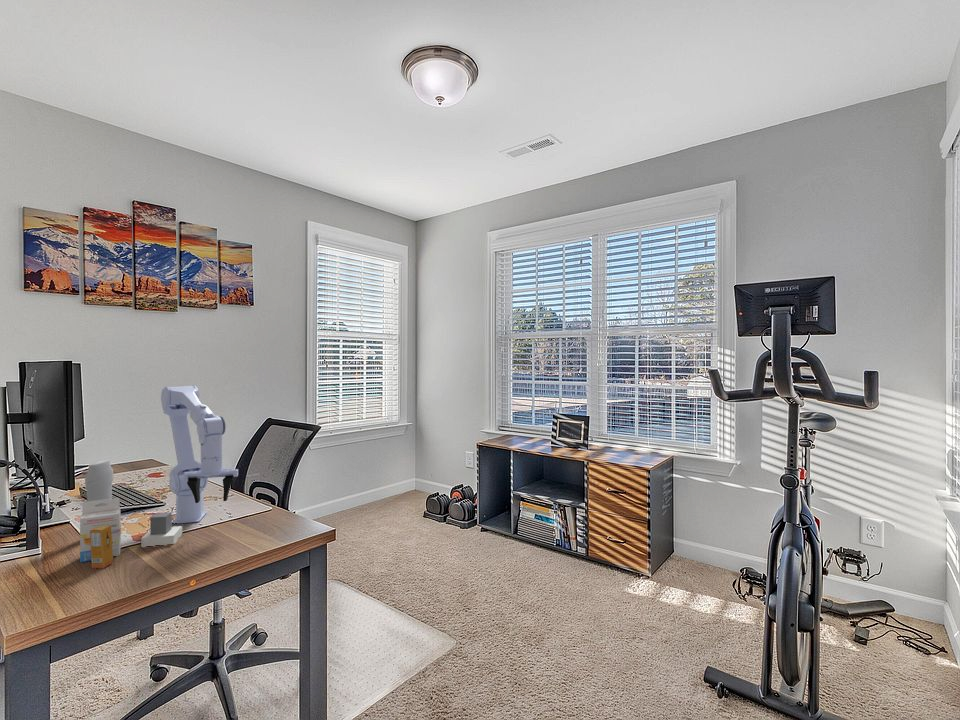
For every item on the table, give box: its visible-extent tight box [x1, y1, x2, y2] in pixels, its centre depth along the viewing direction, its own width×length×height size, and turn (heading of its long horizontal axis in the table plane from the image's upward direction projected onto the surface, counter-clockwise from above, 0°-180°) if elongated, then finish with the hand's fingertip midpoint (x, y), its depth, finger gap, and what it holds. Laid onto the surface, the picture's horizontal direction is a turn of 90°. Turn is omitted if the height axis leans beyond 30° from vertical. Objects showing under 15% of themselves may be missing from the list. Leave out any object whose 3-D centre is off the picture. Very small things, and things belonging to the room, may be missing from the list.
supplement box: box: [90, 526, 114, 569], centre depth 126 cm, size 3×3×10 cm
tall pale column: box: [84, 459, 114, 507], centre depth 148 cm, size 11×4×22 cm, turn 1°
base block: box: [140, 525, 183, 548], centre depth 143 cm, size 8×8×3 cm
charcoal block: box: [149, 511, 173, 535], centre depth 142 cm, size 4×4×5 cm
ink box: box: [79, 497, 122, 563], centre depth 132 cm, size 8×5×15 cm, turn 123°
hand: (211, 501), depth 150 cm, fingers open, 7 cm apart
